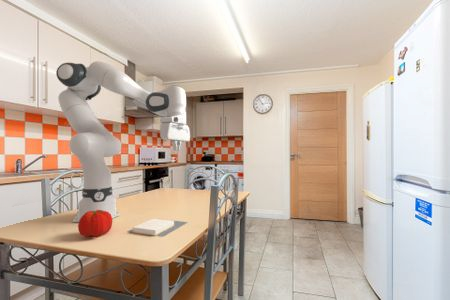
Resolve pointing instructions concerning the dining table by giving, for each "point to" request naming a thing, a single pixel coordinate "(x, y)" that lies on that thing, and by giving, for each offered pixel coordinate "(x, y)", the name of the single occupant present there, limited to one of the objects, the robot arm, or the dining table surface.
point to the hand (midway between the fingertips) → (176, 150)
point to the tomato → (95, 223)
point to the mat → (176, 226)
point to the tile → (153, 227)
